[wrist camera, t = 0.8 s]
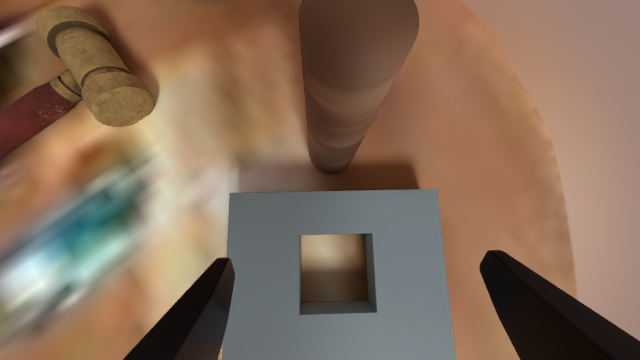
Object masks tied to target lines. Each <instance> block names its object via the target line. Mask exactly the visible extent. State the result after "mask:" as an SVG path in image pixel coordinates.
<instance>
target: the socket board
mask: <svg viewBox="0 0 640 360" xmlns="http://www.w3.org/2000/svg"><path fill="white" fill-rule="evenodd" d="M363 233H365V248H366V266H367V284H368V301H337V302H303V303H302V273H301V235H320V234H363ZM227 257H228V258H230V259H231V261H232V264H233V268H234V271H235V281H234V287H233V293H232V299H231V305H230V311H229V317H228V323H227V327H226V331H225V334H224V338H223V354H222V360H456V355H455V346H454V337H453V328H452V320H451V311H450V302H449V293H448V284H447V275H446V266H445V257H444V248H443V239H442V230H441V221H440V212H439V204H438V195H437V189H414V190H363V191H312V192H262V193H230V202H229V224H228V246H227Z"/></svg>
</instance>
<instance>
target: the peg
mask: <svg viewBox="0 0 640 360" xmlns="http://www.w3.org/2000/svg"><path fill="white" fill-rule="evenodd" d="M299 29H300V41H301V54H302V66H303V79H304V91H305V104H306V116H307V129H308V141H309V154H310V159H311V161H312V163H313V165H314V166H315V167H316V168H317V169H319V170H320V171H322V172H325V173H330V174H332V173H338V172H341V171H343V170H344V169H345V168H347V167H348V165H349V164H350V162H351V160H352V159H353V157H354V155H355V153H356V151H357V149H358V147H359V145H360V144H361V142H362V140H363V138H364V136H365V134H366V132H367V130H368V129H369V127H370V125H371V123H372V121H373V119H374V117H375V115H376V114H377V112H378V110H379V108H380V106H381V104H382V102H383V100H384V99H385V97H386V95H387V93H388V91H389V89H390V87H391V85H392V84H393V82H394V80H395V78H396V76H397V74H398V72H399V70H400V69H401V67H402V65H403V63H404V61H405V59H406V57H407V55H408V54H409V52H410V50H411V48H412V46H413V44H414V42H415V40H416V37H417V34H418V30H419V15H418V10H417V7H416V4H415V2H414V0H302V2H301V5H300V9H299Z"/></svg>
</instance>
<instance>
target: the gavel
mask: <svg viewBox="0 0 640 360" xmlns="http://www.w3.org/2000/svg"><path fill="white" fill-rule="evenodd" d="M37 29H38V32H39V34H40V35H41V37H42V38H43V40H44V41H45V43H46V44H47V46H48V47H49V49H50V50H51V52H52V53H53V54H54V55H55V56H57V57H58V58H60V59H61V60H62V61H63V62H64V64H65V65H66V67H67V68H68V69H67V70H66V71H64V72H63V73H61V74H60V76H58V77H56V78H55V79H53V80H52V81H50V82H48V83H46V84H43V85H41V86H38V87H36V88H34V89H33V90H31V91H30V92H29V93H27V94H26V95H24V96H23V97H21V98H20V99H18V100H17V101H15V102H14V103H12V104H11V105H10V106H8V107H7V108H5V109H4V110H2V111H1V112H0V159H1V158H3V157H4V156H6V155H7V154H9V153H10V152H11V151H13V150H14V149H16V148H17V147H19V146H20V145H21V144H23V143H24V142H26V141H27V140H29V139H30V138H31V137H33V136H34V135H36V134H37V133H39V132H40V131H41V130H43V129H44V128H46V127H47V126H49V125H50V124H51V123H53V122H54V121H56V120H57V119H59V118H60V117H61V116H63V115H64V114H66V113H67V112H68V111H69V110H70V109H71V108H72V107H73V106H74V105H75V104H76V103H77V102H78V101H79V100H81V99H82V98H83V100H84V102H85V103H86V105H87V106H88V108H89V109H90V111H91V112H92V114H93V115H94V117H95V119H96V120H98V121H99V122H101V123H102V124H105V125H108V126H113V127H123V126H129V125H133V124H135V123H137V122H138V121H140V120H141V119H143V118H144V117H146V116H148V115H149V114H150V113H151V112H152V111H153V109H154V99H153V97H152V96H151V94H150V93H149V91H148V90H147V89H146V87H145V86H144V84H143V83H142V82H141V81H140V80H139V79H138V78H137V77H135V76H134V75H132V74H131V73H130V71H129V70H128V68H127V67H126V66H125V64H124V63H123V61H122V60H121V59H120V57H119V56H118V54H117V53H116V52H115V50H114V49H113V47H112V41H111V39H110V37H109V36H108V34H107V33H106V31H105V30H104V29H103V27H102V26H101V24H100V23H99V22H98V20H97V19H96V18H95V17H94V16H92V15H91V14H90V13H88V12H86V11H84V10H82V9H79V8H77V7H72V6H54V7H51V8H48V9H46V10H44V11H43V12H42V13H41V14H40V15H39V17H38V20H37Z"/></svg>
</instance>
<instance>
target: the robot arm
mask: <svg viewBox="0 0 640 360" xmlns="http://www.w3.org/2000/svg"><path fill="white" fill-rule="evenodd" d="M480 273H481V275H482V278H483V280H484V283H485V285H486V288H487V290H488V293H489V295H490V298H491V300H492V303H493V305H494V308H495V310H496V312H497V315H498V317H499V319H500V321H501V323H502V325H503V327H504V329H505V331H506V333H507V335H508V336H509V338H510V340H511V342H512V344H513V346H514V348H515V350H516V352H517V354H518V356H519V358H520V360H640V341H639V340H637V339H636V338H634V337H633V336H631V335H629V334H628V333H627V332H625V331H623V330H622V329H620V328H619V327H617V326H616V325H614V324H613V323H611V322H610V321H608V320H607V319H605V318H604V317H602V316H601V315H599V314H598V313H596V312H595V311H593V310H592V309H590V308H589V307H587V306H585V305H584V304H582V303H581V302H579V301H578V300H576V299H575V298H573V297H572V296H570V295H569V294H567V293H566V292H564V291H563V290H561V289H560V288H558V287H557V286H555V285H554V284H552V283H551V282H549V281H548V280H546V279H544V278H543V277H541V276H540V275H538V274H537V273H535V272H534V271H532V270H531V269H529V268H528V267H526V266H525V265H523V264H522V263H520V262H519V261H517V260H516V259H514V258H513V257H511V256H510V255H508V254H507V253H505V252H503V251H501V250H489V251H487V253H486V254H485V256H484V258H483V260H482V262H481V263H480ZM234 281H235V271H234V268H233V264H232V261H231V259H230V258H228V257H224V258H217V259H216V260H215V261H214V262H213V263H212V264H211V265H210V266H209V267H208V268H207V270H206V271H205V272H204V273H203V274H202V275H201V276H200V277H199V278H198V279H197V280H196V281H195V282H194V284H193V285H192V286H191V287H190V288H189V289H188V290H187V291H186V292H185V293H184V294H183V295H182V296H181V298H180V299H179V300H178V301H177V302H176V303H175V304H174V305H173V306H172V307H171V308H170V309H169V310H168V311H167V313H166V314H165V315H164V316H163V317H162V318H161V319H160V320H159V321H158V322H157V323H156V324H155V325H154V327H153V328H152V329H151V330H150V331H149V332H148V333H147V334H146V335H145V336H144V337H143V338H142V339H141V341H140V342H139V343H138V344H137V345H136V346H135V347H134V348H133V349H132V350H131V351H130V352H129V353H128V354H127V356H126V357H125V358H124V359H123V360H218V356H219V353H220V349H221V345H222V342H223V338H224V334H225V331H226V327H227V323H228V317H229V311H230V305H231V299H232V293H233V287H234Z"/></svg>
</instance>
